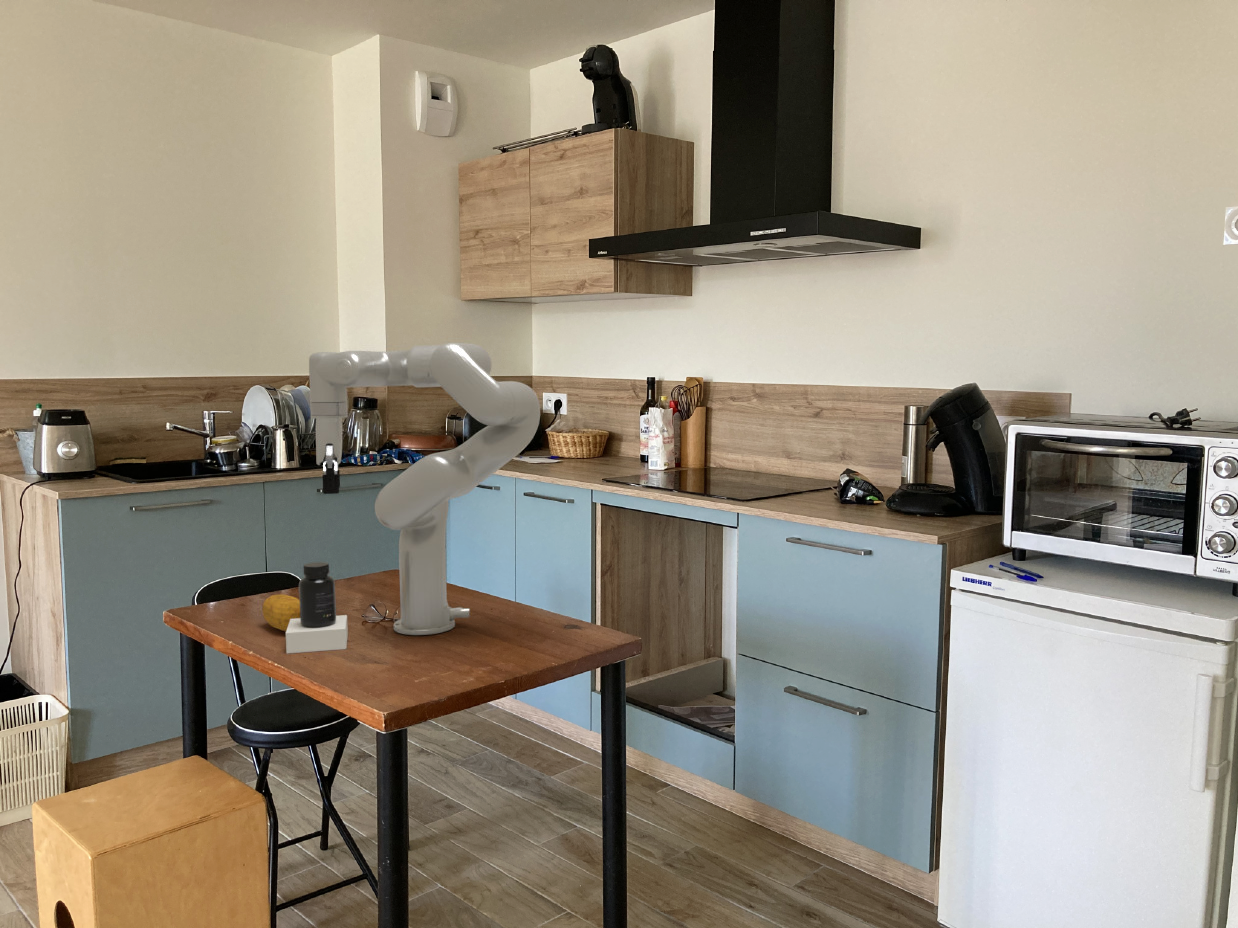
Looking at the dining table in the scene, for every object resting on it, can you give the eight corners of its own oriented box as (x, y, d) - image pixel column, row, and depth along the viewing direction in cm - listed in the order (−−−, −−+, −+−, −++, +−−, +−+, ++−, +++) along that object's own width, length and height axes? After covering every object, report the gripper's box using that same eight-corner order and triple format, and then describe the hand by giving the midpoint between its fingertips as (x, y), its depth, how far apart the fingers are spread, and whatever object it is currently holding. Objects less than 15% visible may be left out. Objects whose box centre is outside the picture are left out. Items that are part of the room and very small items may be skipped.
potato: (291, 619, 208) (290, 588, 207) (316, 633, 196) (315, 600, 196) (258, 625, 203) (256, 593, 203) (281, 640, 192) (279, 605, 191)
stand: (347, 634, 196) (347, 614, 195) (346, 648, 185) (345, 628, 185) (291, 638, 193) (290, 618, 193) (286, 653, 182) (285, 633, 182)
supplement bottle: (293, 624, 188) (290, 564, 187) (324, 617, 193) (321, 559, 192) (312, 630, 184) (310, 569, 183) (343, 623, 189) (341, 563, 188)
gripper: (312, 409, 210) (315, 486, 211) (308, 412, 193) (311, 496, 195) (347, 409, 212) (350, 485, 213) (346, 412, 195) (349, 495, 197)
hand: (331, 490), depth 204 cm, fingers open, 9 cm apart
